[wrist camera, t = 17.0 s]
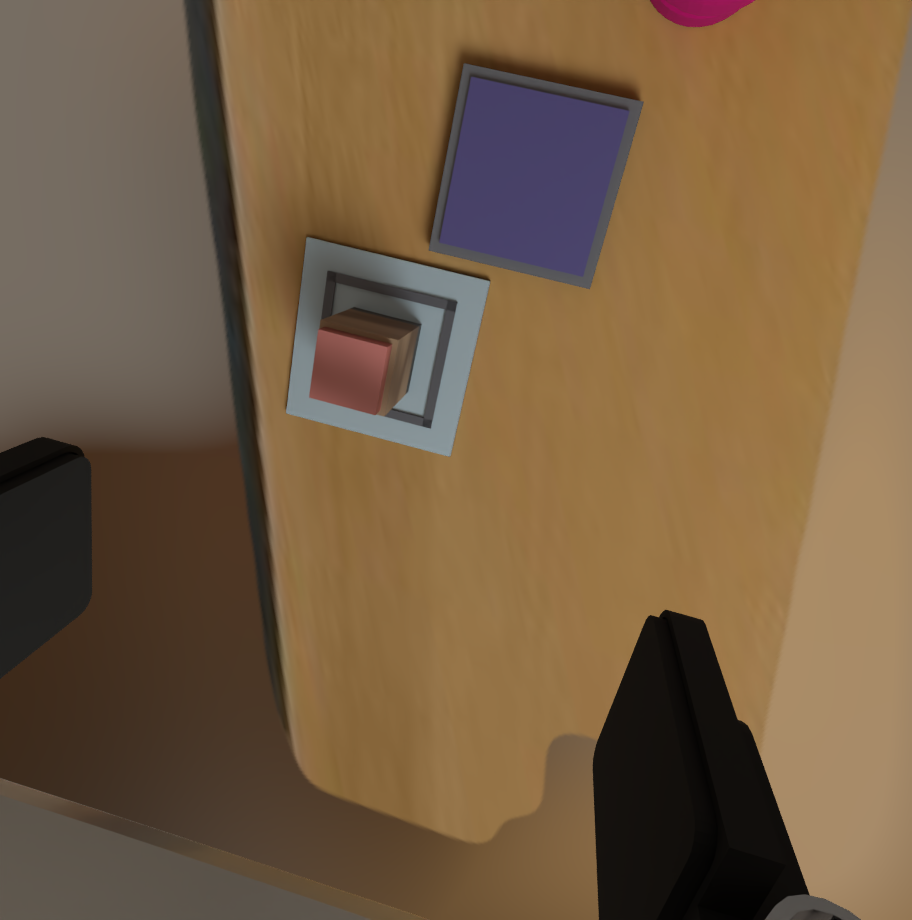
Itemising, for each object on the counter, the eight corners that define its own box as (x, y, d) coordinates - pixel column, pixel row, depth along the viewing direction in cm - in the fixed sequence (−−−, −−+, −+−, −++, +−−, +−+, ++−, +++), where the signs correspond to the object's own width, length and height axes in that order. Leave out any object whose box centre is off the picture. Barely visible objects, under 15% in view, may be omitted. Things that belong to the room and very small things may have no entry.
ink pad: (466, 67, 36) (462, 61, 34) (641, 104, 35) (644, 100, 34) (431, 249, 39) (427, 250, 38) (589, 287, 39) (589, 289, 37)
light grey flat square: (308, 236, 40) (305, 237, 40) (490, 280, 39) (489, 281, 39) (287, 411, 45) (284, 414, 44) (450, 455, 44) (449, 457, 44)
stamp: (353, 307, 41) (313, 322, 35) (421, 324, 41) (393, 343, 34) (343, 374, 43) (303, 401, 36) (408, 391, 43) (379, 421, 36)
